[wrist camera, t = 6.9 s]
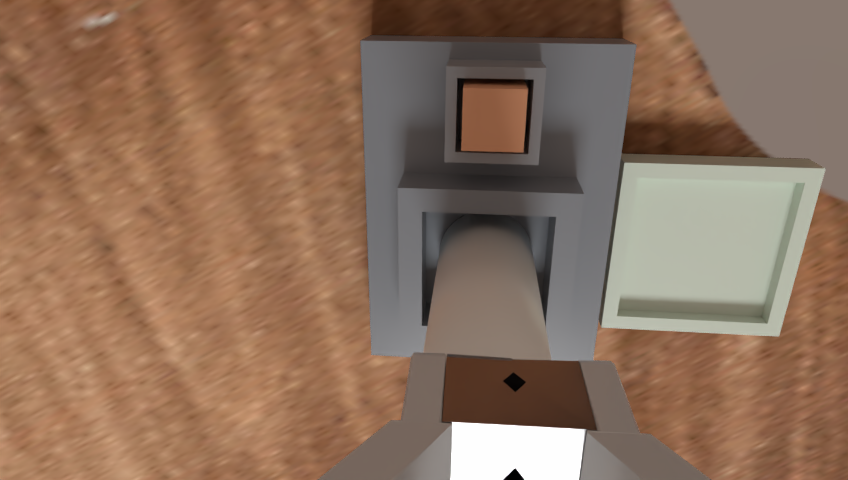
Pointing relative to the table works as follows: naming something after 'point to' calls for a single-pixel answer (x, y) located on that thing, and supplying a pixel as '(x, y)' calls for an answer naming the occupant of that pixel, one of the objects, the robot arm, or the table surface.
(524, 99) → the plunger
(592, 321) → the housing
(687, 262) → the tray
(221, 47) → the table surface
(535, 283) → the cartridge
